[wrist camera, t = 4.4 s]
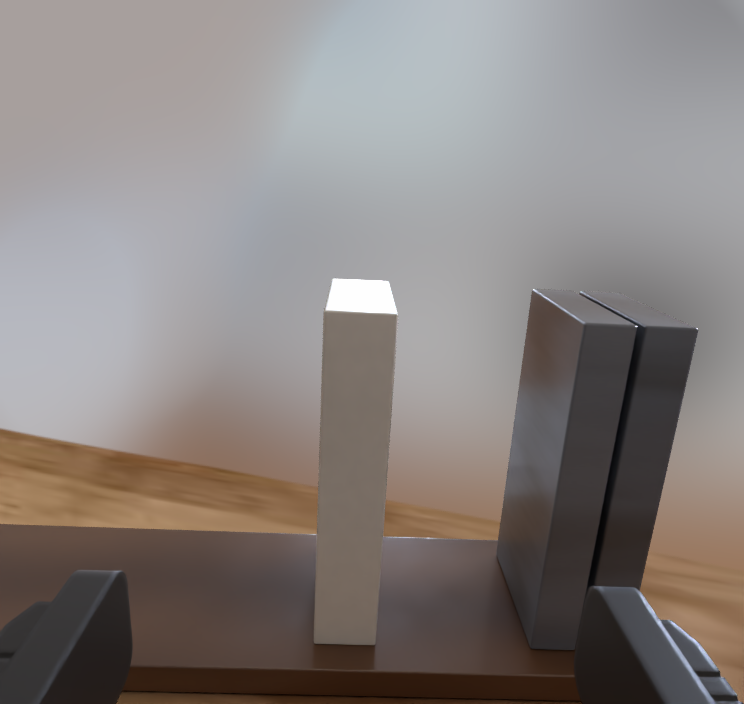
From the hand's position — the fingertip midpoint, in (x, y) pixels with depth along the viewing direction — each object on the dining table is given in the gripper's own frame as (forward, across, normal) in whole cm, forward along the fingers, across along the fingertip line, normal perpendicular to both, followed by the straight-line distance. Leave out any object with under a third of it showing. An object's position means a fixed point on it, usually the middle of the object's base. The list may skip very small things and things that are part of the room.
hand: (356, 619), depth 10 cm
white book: (+9, 0, +7) cm, 12 cm away
